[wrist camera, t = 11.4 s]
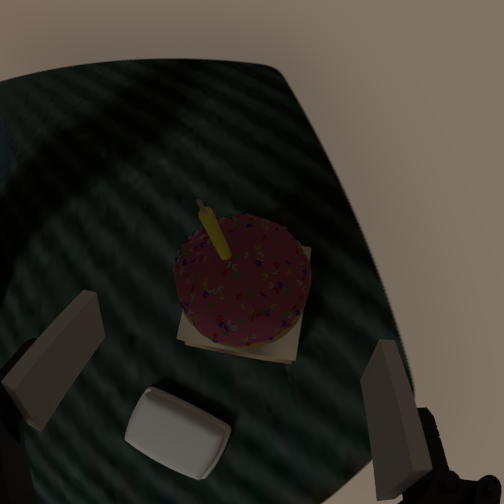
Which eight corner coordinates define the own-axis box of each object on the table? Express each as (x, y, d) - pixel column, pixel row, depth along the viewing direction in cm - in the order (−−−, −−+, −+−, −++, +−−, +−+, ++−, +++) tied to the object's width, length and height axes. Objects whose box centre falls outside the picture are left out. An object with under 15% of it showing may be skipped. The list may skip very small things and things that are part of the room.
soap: (236, 424, 25) (234, 432, 22) (207, 480, 23) (202, 492, 20) (150, 380, 26) (139, 382, 23) (124, 436, 24) (112, 442, 21)
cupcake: (167, 299, 23) (95, 244, 12) (237, 221, 25) (226, 118, 14) (253, 372, 21) (251, 388, 10) (322, 285, 24) (379, 218, 12)
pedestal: (186, 344, 27) (172, 341, 22) (207, 247, 30) (199, 226, 25) (290, 364, 26) (298, 365, 22) (305, 263, 29) (315, 244, 25)
